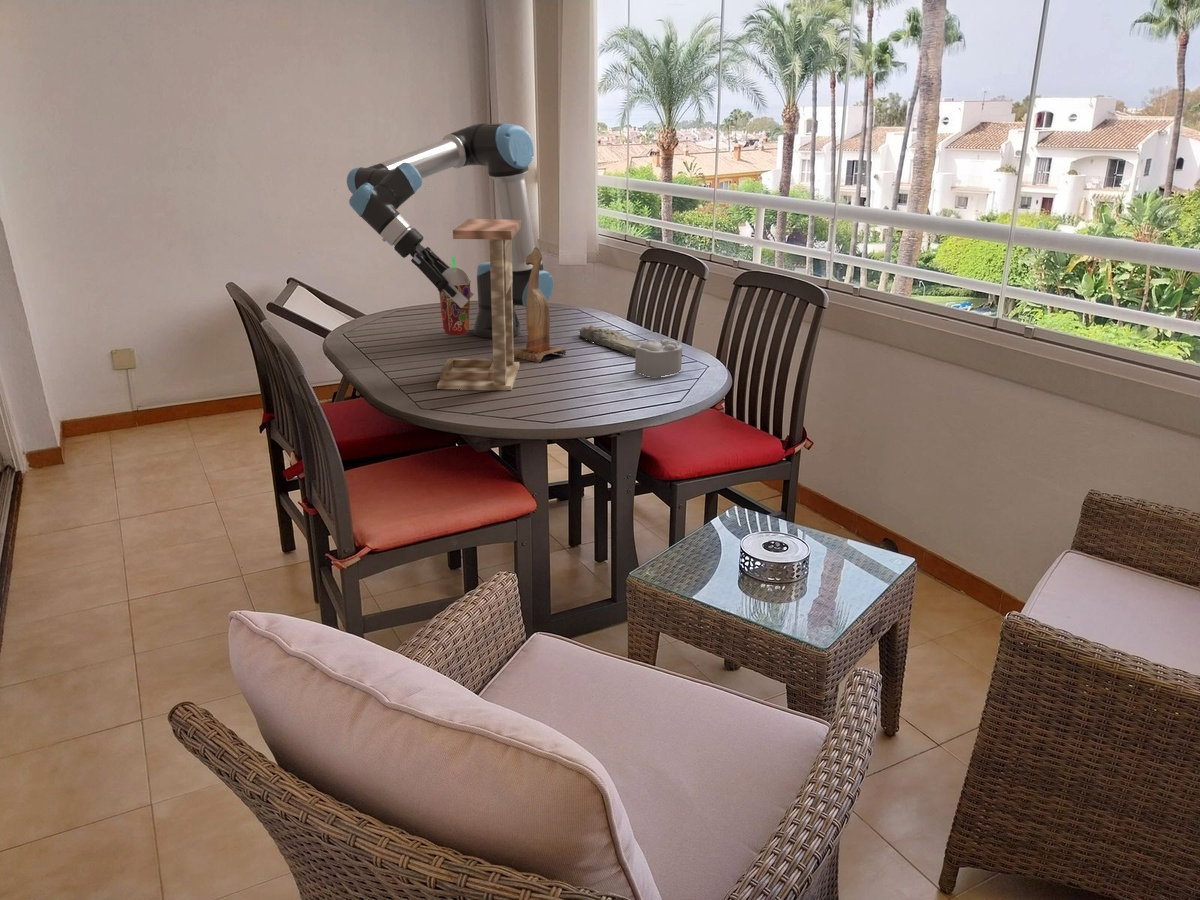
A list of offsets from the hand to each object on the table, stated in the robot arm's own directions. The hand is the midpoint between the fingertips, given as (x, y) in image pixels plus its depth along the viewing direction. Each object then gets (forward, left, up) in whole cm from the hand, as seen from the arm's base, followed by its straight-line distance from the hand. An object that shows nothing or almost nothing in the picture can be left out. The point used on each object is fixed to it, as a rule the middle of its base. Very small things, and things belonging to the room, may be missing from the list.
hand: (467, 300), depth 227 cm
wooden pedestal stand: (-2, +2, -20) cm, 21 cm away
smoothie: (+3, -2, -9) cm, 10 cm away
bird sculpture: (-27, -8, -21) cm, 35 cm away
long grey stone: (-53, -7, -21) cm, 58 cm away
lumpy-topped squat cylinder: (-47, +23, -21) cm, 56 cm away
